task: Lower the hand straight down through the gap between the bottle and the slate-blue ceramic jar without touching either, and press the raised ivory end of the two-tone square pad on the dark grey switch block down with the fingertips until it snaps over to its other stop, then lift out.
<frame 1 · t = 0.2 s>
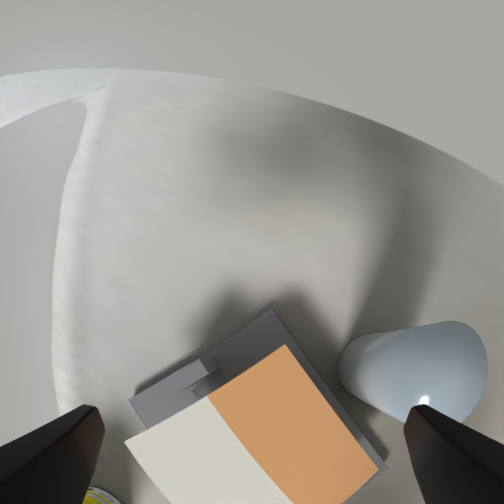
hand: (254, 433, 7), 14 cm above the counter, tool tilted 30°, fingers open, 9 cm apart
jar: (369, 366, 20), on the counter
two-tone square pad: (259, 466, 14), point 5 cm above the counter, hinge at 18.0°
switch base: (259, 443, 19), on the counter
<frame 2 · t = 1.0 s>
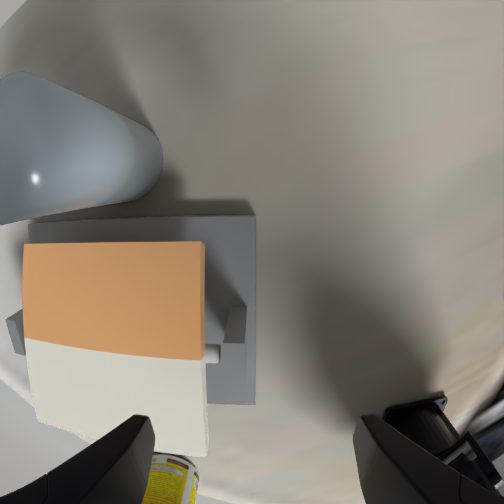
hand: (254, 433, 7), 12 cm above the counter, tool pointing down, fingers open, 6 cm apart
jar: (126, 162, 17), on the counter
two-tone square pad: (105, 347, 14), point 5 cm above the counter, hinge at 18.0°
supplement bottle: (172, 466, 23), on the counter
switch base: (136, 314, 19), on the counter
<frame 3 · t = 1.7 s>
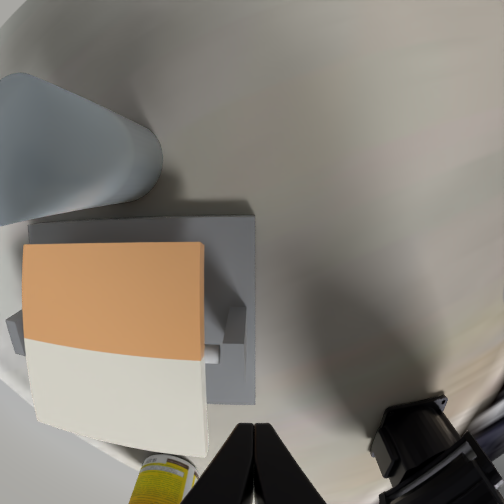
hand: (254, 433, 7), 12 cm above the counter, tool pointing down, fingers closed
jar: (125, 162, 17), on the counter
two-tone square pad: (105, 347, 14), point 5 cm above the counter, hinge at 18.0°
supplement bottle: (172, 466, 23), on the counter
switch base: (136, 314, 19), on the counter
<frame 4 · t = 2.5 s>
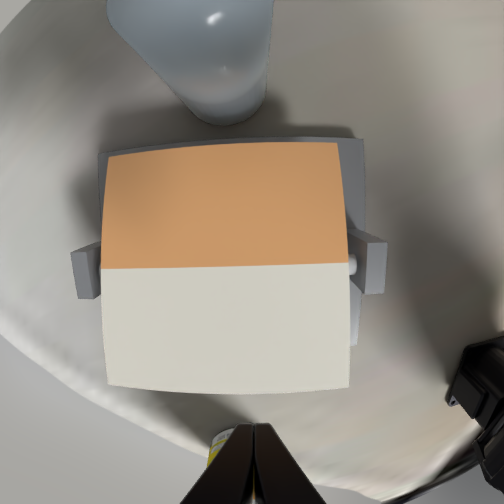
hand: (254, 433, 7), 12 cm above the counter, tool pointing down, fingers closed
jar: (224, 87, 16), on the counter
two-tone square pad: (220, 268, 14), point 5 cm above the counter, hinge at 18.0°
supplement bottle: (243, 443, 22), on the counter
switch base: (230, 249, 18), on the counter
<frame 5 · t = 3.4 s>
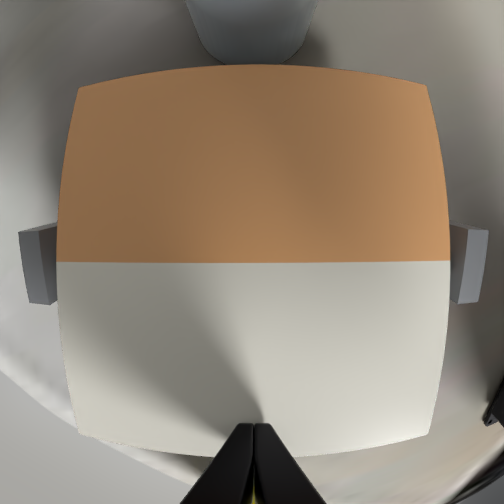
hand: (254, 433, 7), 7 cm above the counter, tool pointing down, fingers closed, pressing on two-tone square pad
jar: (252, 24, 11), on the counter
two-tone square pad: (252, 262, 8), point 5 cm above the counter, hinge at 13.6°, touching gripper
switch base: (253, 236, 13), on the counter
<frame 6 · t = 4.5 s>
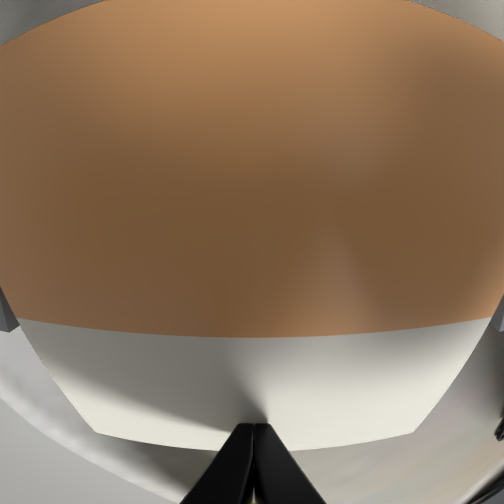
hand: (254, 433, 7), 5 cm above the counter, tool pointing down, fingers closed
two-tone square pad: (253, 301, 6), point 5 cm above the counter, hinge at -18.1°
switch base: (254, 246, 11), on the counter
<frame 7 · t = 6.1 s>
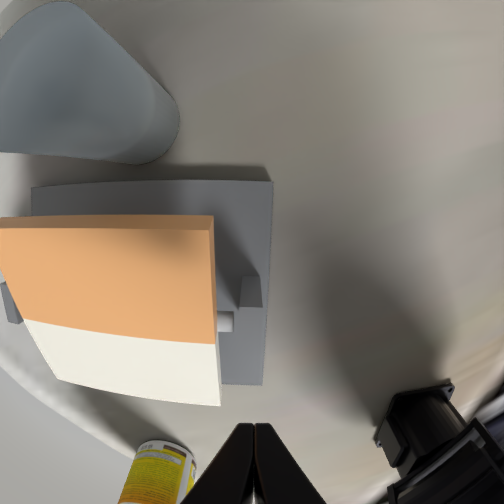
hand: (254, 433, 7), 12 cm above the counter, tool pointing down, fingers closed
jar: (140, 124, 16), on the counter
two-tone square pad: (108, 318, 14), point 5 cm above the counter, hinge at -18.1°
supplement bottle: (168, 454, 22), on the counter
switch base: (140, 284, 18), on the counter
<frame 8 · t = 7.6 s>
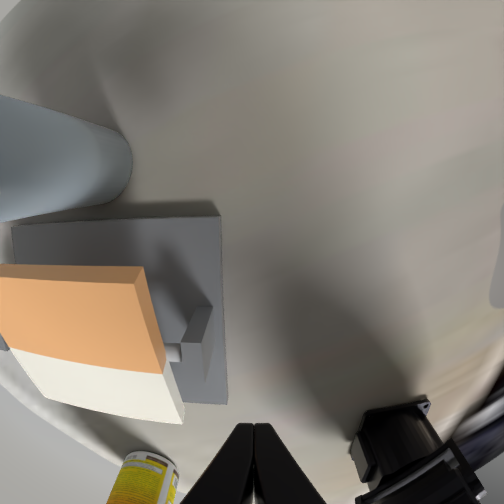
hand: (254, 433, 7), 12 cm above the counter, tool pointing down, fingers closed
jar: (98, 166, 17), on the counter
two-tone square pad: (77, 348, 14), point 5 cm above the counter, hinge at -18.1°
supplement bottle: (153, 464, 23), on the counter
switch base: (111, 313, 19), on the counter
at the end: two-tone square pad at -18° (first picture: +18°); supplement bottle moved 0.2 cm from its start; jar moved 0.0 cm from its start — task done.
